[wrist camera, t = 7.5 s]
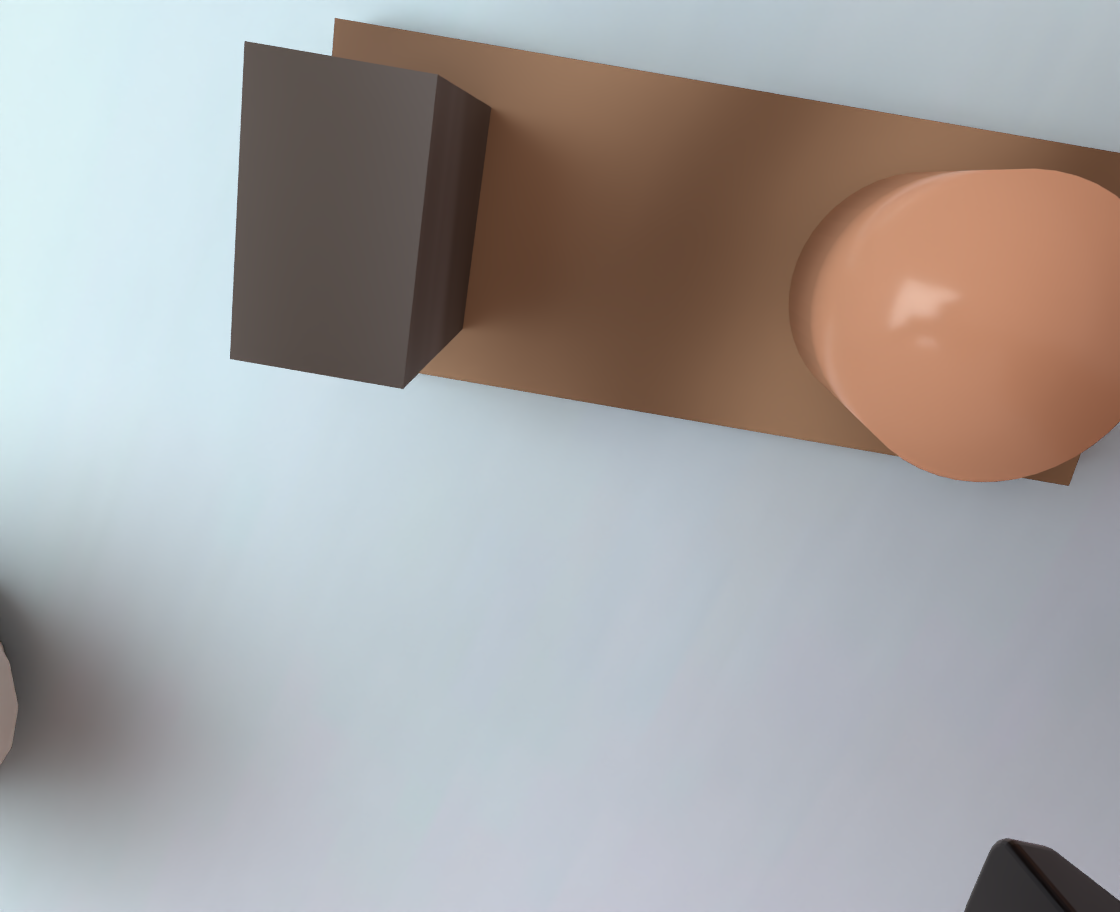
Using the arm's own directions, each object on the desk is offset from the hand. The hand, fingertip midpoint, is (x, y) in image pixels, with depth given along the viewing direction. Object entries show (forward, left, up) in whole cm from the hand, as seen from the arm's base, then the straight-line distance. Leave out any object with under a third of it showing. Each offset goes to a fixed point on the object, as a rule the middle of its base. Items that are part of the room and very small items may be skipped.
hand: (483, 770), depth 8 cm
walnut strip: (-3, -4, -11) cm, 12 cm away
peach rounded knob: (-6, -4, -10) cm, 12 cm away
